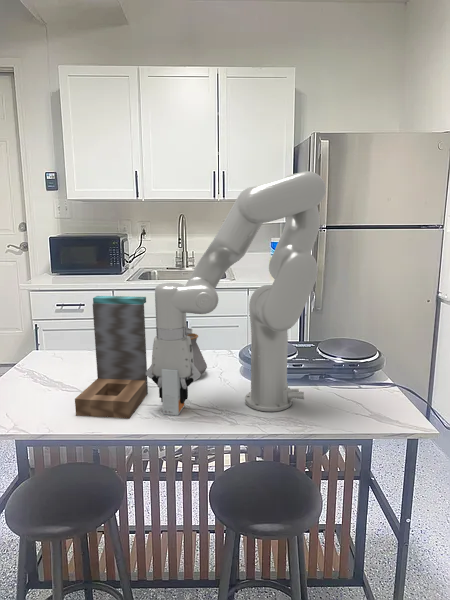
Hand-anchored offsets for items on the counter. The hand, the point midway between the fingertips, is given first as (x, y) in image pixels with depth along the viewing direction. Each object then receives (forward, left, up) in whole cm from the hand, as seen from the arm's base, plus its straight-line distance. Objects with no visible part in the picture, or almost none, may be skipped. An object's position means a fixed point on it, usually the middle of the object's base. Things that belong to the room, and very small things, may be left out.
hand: (173, 400), depth 116 cm
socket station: (+17, -3, -3) cm, 17 cm away
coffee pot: (+1, -20, -3) cm, 20 cm away
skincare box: (0, 0, -3) cm, 3 cm away
